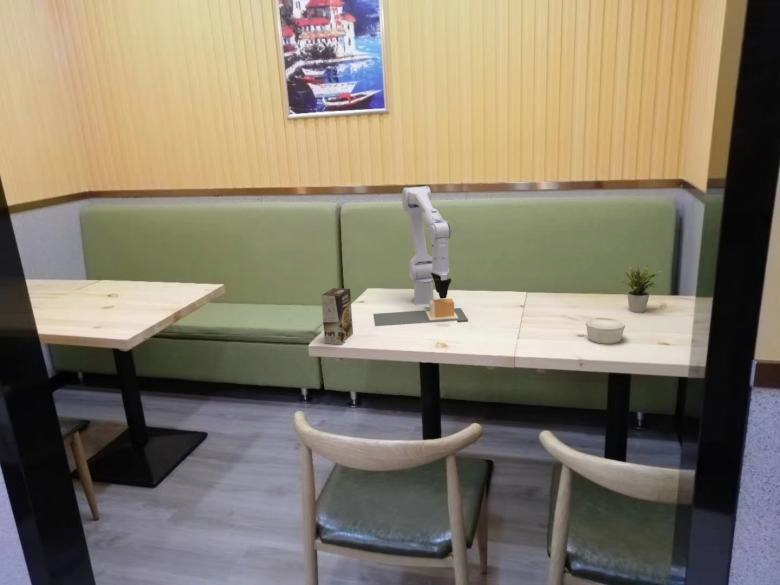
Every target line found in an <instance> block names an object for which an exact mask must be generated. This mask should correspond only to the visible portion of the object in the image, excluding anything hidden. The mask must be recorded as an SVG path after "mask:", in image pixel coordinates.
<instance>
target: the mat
mask: <svg viewBox="0 0 780 585" xmlns="http://www.w3.org/2000/svg"><path fill="white" fill-rule="evenodd" d="M426 311H430V309H425V310H410V311H395V312H379V313H372V314H373V321H374V326H375V327H384V326H385V327H386V326H398V325H399V326H400V325H401V326H402V325H412V324H414V325H415V324H428V323H441V322H443V323H445V322H457V323H465V322H466V323H467V322H469V319H468V317H467V316H466V314H465V313H464V312H465V311H463V309H462V308H461V307H454V311H455V313H456V315H457V316H458V319H445V320H431V321H430V320H429V318H428V315H427V313H426Z"/></svg>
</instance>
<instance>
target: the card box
mask: <svg viewBox="0 0 780 585" xmlns="http://www.w3.org/2000/svg"><path fill="white" fill-rule="evenodd" d="M429 303H430V305H429V310H430V315H431V317H445V316H454V308H455V301H454V300H453V298H443V299H440V298H438V299H434V300H429Z"/></svg>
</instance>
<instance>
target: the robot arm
mask: <svg viewBox="0 0 780 585" xmlns="http://www.w3.org/2000/svg"><path fill="white" fill-rule="evenodd" d="M431 199H432V192H431V188H430V187H429V186H428V185H424V186H412V187H403V189H402V192H401V201H402V207H403V211H404V212H405V213H407V214H408V218H409V225H410V232H411V238H412V239H411V240H412V245H413V246H412V247H413V253H414V256H413V257H412V258H410V260H409V262H408V275H409V278H410V280H411V281H413V287H414V288H413V291H414V298H412V302H413V304H414V306H428V305H429V306H430V303H429V300H435V298H434V288H435V292H436V293H438V296H439V299H447V297H448V291H449V287H450V284H451V282H452V278H451V277H450V278H448V275H449V273H450V262H449V260H450V256H449V255H450V254H449V253H450V252H449V249H450V248H449V247H450V246H449V239H450V238H451V237H452V236H451V235H452V228H451V227H452V226H451V224H450V222H449V221H448V220H444V219H443V217H442V216H441V214H440V212H439V210H438V209H437V208H434V206H433V204H432V202H431ZM422 214H423V215H422ZM423 220H424V221H423ZM424 223H425V224H426V226H427V228H428V235H429V240H430V241H429V243H430V245H431V255H430V254H428V248H427V243H426V242H427V240H426V236H425V235H426V234H425V229H424Z"/></svg>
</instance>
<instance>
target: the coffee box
mask: <svg viewBox="0 0 780 585" xmlns="http://www.w3.org/2000/svg"><path fill="white" fill-rule="evenodd" d="M320 297H321V308H322V309H321V311H322V321H323V322H322V323H323V324H322V325H323V337H324V344H330V345H331V344H332V345H341V346H342V345H344V343H345V342H346V341H347V340H348V339H349V338H351V336H352V335H354V329H353V328H354V327H353V325H354V324H353V313H352V296H351V288H341V287H340V288H335V287H334V288H331V289H329V290H327V291H326V292H325V293H323V294H321V296H320Z"/></svg>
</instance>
